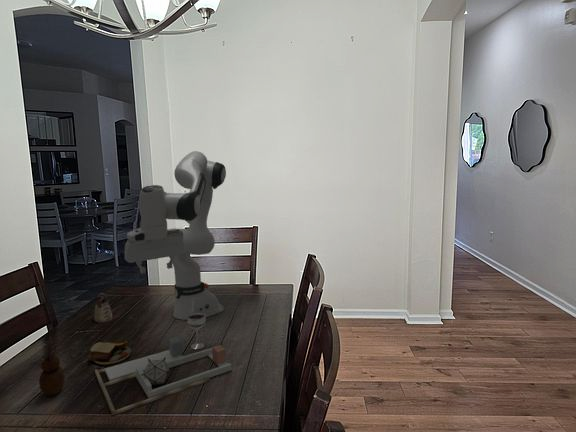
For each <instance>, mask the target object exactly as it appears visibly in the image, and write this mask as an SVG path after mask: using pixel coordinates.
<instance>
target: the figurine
mask: <svg viewBox="0 0 576 432" xmlns="http://www.w3.org/2000/svg"><path fill="white" fill-rule="evenodd" d="M93 314H94V315H93V318H94V319H93V320H94V322H95V323H101V324H102V323H107V322H110V321H112V320H113V312H112V308H111V305H110V301H109V297H108V294H106V293H104V292H101V293H99V294H98V295H97V303H96V304H95V306H94V313H93Z"/></svg>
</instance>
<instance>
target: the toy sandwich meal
mask: <svg viewBox="0 0 576 432" xmlns="http://www.w3.org/2000/svg"><path fill="white" fill-rule="evenodd" d="M128 343H129V342H128V341H124V342H120V343H118V342H117V343H116V342H115V343H114V342H109V341H105V342H101V341H99V342H96V343H94V344H93V345H92V346H91V347H90V350H89V353H88V356H87V359H88V361H93V362H94V363H95V364H97V365H99V366H110V365H111V366H112V365H115V364H116V365H117V364H118V363H119V364H120V363H121V362H124V361H125V360H126V359H127V358H128V357H129V356H130V355H131V353H132V349H131V348H130V347H128V346H127V345H128Z"/></svg>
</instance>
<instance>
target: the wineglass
mask: <svg viewBox="0 0 576 432" xmlns="http://www.w3.org/2000/svg"><path fill="white" fill-rule="evenodd" d="M205 315H206V314H205V313H202V312H195V313H191V314H189V315H188V316H187V317H188V320H187V325H188V327H189V328H190V329H192V330H195V332H196V333H195V336H196V342H195V343H193V344H191V345H190V348H191V349H193V350H201V349H203V348H204V347H205V343H202V342H199V330H200V329H202V328H203V327H204V326H205V325H206V324H207V323H206V322H207V317H206V318H205Z"/></svg>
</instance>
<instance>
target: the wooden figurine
mask: <svg viewBox="0 0 576 432" xmlns="http://www.w3.org/2000/svg"><path fill="white" fill-rule="evenodd" d="M40 363H41V365H40V367H41V370H42V372H41V374H40V376H39V381H38V384H39V388H40V390H41V392H42V394H43V395H45V396H47V397H51V396H52V397H53V396H54V395H57V394H58V393H60V392H61V390H63V387H64V383H65V378H66V377H65V372H64V369H63V368H62V367H61V366H60V358H59V356H57V355H54V354H53V353H52V348H51V343H50V342H49V343H48V355H47V356H45V357H44V358H43V359H42V361H41V362H40Z"/></svg>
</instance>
